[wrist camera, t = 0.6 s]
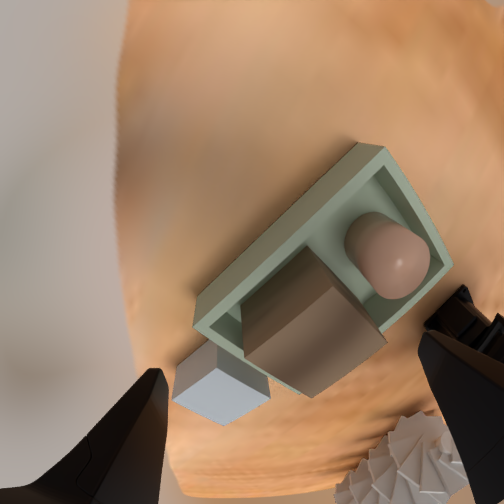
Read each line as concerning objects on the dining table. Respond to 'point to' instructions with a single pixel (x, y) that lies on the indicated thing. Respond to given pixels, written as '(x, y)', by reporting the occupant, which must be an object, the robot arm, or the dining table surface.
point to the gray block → (219, 384)
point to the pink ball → (387, 254)
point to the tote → (325, 245)
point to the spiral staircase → (407, 467)
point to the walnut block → (307, 326)
